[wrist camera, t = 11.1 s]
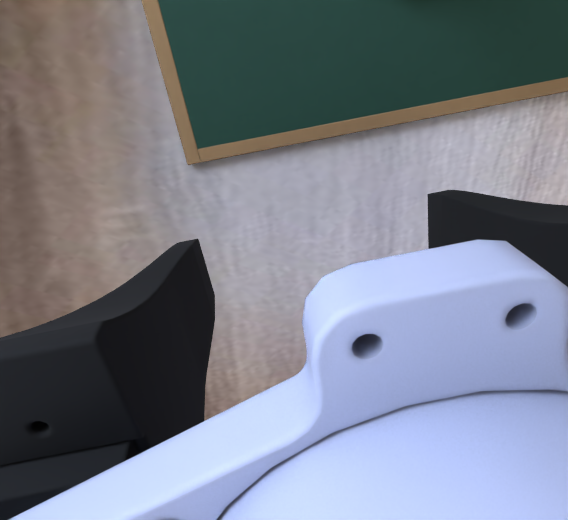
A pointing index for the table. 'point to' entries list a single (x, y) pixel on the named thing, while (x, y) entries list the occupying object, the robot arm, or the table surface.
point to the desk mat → (345, 65)
